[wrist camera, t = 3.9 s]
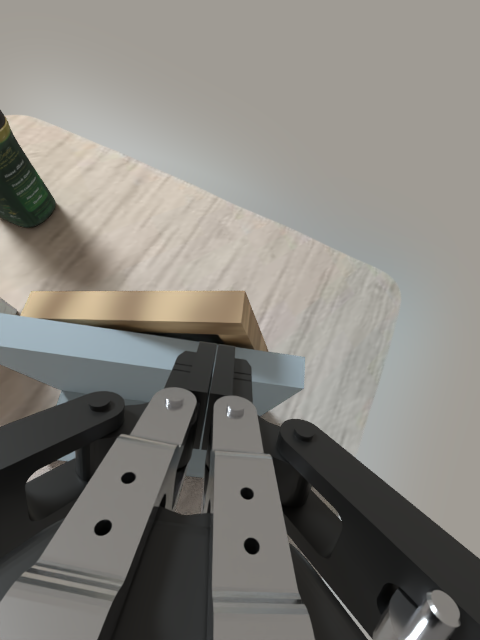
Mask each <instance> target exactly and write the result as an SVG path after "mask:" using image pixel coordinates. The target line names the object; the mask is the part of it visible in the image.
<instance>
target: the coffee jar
mask: <svg viewBox="0 0 480 640" xmlns="http://www.w3.org/2000/svg"><path fill="white" fill-rule="evenodd" d="M54 209H55V200H54V198H53V196H52V195H51V193H50V192H49V190H48V188H47V187H46V185H45V184H44V182H43V181H42V179H41V178H40V176H39V175H38V173H37V172H36V170H35V169H34V167H33V166H32V164H31V163H30V161H29V159H28V158H27V156H26V155H25V153H24V152H23V150H22V148H21V147H20V145H19V144H18V142H17V140H16V139H15V137H14V135H13V133H12V131H11V129H10V126H9V123H8V121H7V119H6V117H5V116H4V114H3V113H2V112H1V110H0V217H1V218H3V219H5V220H7V221H9V222H11V223H13V224H16V225H18V226H21V227H27V228H29V227H33V226H36V225H38V224H40V223H42V222H44V221H45V220H46V219H47V218H48V217H49V216H50V215H51V214H52V212H53V210H54Z"/></svg>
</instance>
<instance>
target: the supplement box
mask: <svg viewBox="0 0 480 640" xmlns="http://www.w3.org/2000/svg"><path fill="white" fill-rule="evenodd" d="M0 313H3V314H10V315H16V313H17V310H16V309H15V308H14V307H12V306H11V305H10V304H8V303H7V302H5V301H4V300H3V299H1V298H0Z"/></svg>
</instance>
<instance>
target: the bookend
mask: <svg viewBox="0 0 480 640" xmlns="http://www.w3.org/2000/svg"><path fill="white" fill-rule="evenodd" d="M198 346H199V342H197V341H190V340H183V339H176V338H169V337H162V336H156V335H149V334H142V333H135V332H128V331H121V330H114V329H107V328H100V327H93V326H86V325H79V324H72V323H66V322H59V321H52V320H45V319H38V318H31V317H24V316H17V315H10V314H3V313H0V365H3V366H5V367H7V368H10V369H12V370H14V371H17V372H19V373H21V374H24V375H26V376H28V377H31V378H33V379H36V380H38V381H40V382H43V383H45V384H47V385H50V386H52V387H54V388H57V389H59V390H62V391H61V394H60V397H59V400H58V403H57V405H59V404H62V403H65V402H67V401H70V400H73V399H75V398H78V397H81V396H83V395H86V394H89V393H92V392H97V391H109V392H114V393H117V394H119V395H120V396H121V397H122V398H123V399H124V402H125V405H138V404H144V403H148V402H150V401H151V399H152V397H153V396H154V394H155V393H156V392H158V391H160V390H162V389H164V387H165V385H166V382H167V380H168V378H169V375H170V373H171V371H172V368H173V366H174V364H175V361H176V359H177V356H178V355H180V354H181V353H183V352H184V351H191V352H197V349H198ZM217 350H218V344H217V348H216V355H217ZM216 355H215V361H216ZM235 358H238V359H245V360H247V361H248V363H249V364H250V366H251V368H252V395H253V405H254V406H255V408H256V410H257V414H258V415H259V416H262V415H263V414H265V413H266V412H268V411H269V410H271V409H273V408H274V407H276V406H277V405H279V404H280V403H282V402H284V401H285V400H287V399H288V398H290V397H291V396H293V395H295V394H296V393H298V392H299V391H301V390H302V389H304V371H305V357H301V356H294V355H287V354H280V353H273V352H266V351H259V350H252V349H245V348H239V347H235ZM215 361H214V366H215ZM213 372H214V368H213ZM212 377H213V375H212ZM211 383H212V381H211ZM210 388H211V387H210ZM209 394H210V393H209ZM208 401H209V399H208ZM57 405H56V406H57ZM207 407H208V404H207ZM206 414H207V410H206ZM205 421H206V415H205ZM205 421H204V426H203V431H202V437H201V442H200V448H199V449H193V451H192V456H191V459H190V461H189V463H188V469H187V473H186V476H192V477H200V478H203V472H204V465H205V459H206V452H207V450H201V448H202V441H203V434H204V427H205ZM74 458H75V451H74V452H72V453H70V454H68V455H66V456H64V457H62V458H60V459H58V460H62V461H70V460H72V459H74Z"/></svg>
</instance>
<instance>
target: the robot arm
mask: <svg viewBox="0 0 480 640" xmlns="http://www.w3.org/2000/svg"><path fill="white" fill-rule="evenodd" d="M216 348H217V344H216V343H209V342H203V341H200V342H199V346H198V349H197V352H191V351H184V352H183V353H181V354H180V355H178V356H177V359H176V361H175V364H174V366H173V368H172V371H171V373H170V375H169V378H168V380H167V382H166V385H165V387H164V389H162V390H160V391H158V392H156V393H155V394H154V396H153V397H152V399H151V401H150V402H148V403H144V404H138V405H125V402H124V399H123V398H122V397H121V396H120V395H119V394H117V393H114V392H109V391H97V392H92V393H89V394H86V395H83V396H81V397H78V398H75V399H73V400H70V401H67V402H65V403H62V404H59V405H57V406H54V407H52V408H49V409H46V410H44V411H41V412H38V413H36V414H33V415H30V416H28V417H25V418H22V419H20V420H17V421H15V422H12V423H9V424H7V425H4V426H1V427H0V640H368V639H367V638H366V637H365V635H364V634H363V633H362V631H361V630H360V629H359V627H358V626H357V625H356V623H355V622H354V621H353V620H352V618H351V617H350V616H349V614H348V613H347V612H346V610H345V609H344V608H343V606H342V605H341V604H340V602H339V601H338V600H337V599H336V597H335V596H334V595H333V593H332V592H331V591H330V589H329V588H328V587H327V586H326V584H325V583H324V581H323V580H322V579H321V577H320V576H319V575H318V573H317V572H316V571H315V570H314V568H313V567H312V566H311V564H312V565H313V566H314V567H315V569H316V570H317V571H318V572H319V574H320V575H321V576H322V577H323V579H324V580H325V581H326V582H327V583H328V585H329V586H330V587H331V588H332V590H333V591H334V592H335V593H336V595H337V596H338V597H339V598H340V600H341V601H342V602H343V603H344V604H345V606H346V607H347V608H348V609H349V611H350V612H351V613H352V614H353V616H354V617H355V618H356V619H357V620H358V622H359V623H360V624H361V625H362V627H363V628H364V629H365V630H366V632H367V633H368V634H369V635H370V637H371V638H372V639H373V640H480V559H479V558H478V557H476V556H475V555H474V554H473V553H472V552H470V551H469V550H468V549H467V548H465V547H464V546H463V545H462V544H460V543H459V542H458V541H457V540H456V539H454V538H453V537H452V536H451V535H449V534H448V533H447V532H446V531H444V530H443V529H442V528H441V527H440V526H438V525H437V524H436V523H435V522H433V521H432V520H431V519H430V518H429V517H427V516H426V515H425V514H424V513H422V512H421V511H420V510H419V509H417V508H416V507H415V506H413V504H411V503H410V502H409V501H408V500H406V499H405V498H404V497H403V496H401V495H400V494H399V493H398V492H397V491H395V490H394V489H393V488H392V487H390V486H389V485H388V484H386V483H385V482H384V481H383V480H382V479H381V478H379V477H378V476H377V475H376V474H374V473H373V472H372V471H371V470H370V469H368V468H367V467H366V466H364V465H363V464H362V463H361V462H360V461H358V460H357V459H356V458H355V457H354V456H352V455H351V454H350V453H349V452H347V451H346V450H345V449H344V448H342V447H341V446H340V445H339V444H338V443H336V442H335V441H334V440H333V439H331V438H330V437H329V436H328V435H327V434H325V433H324V432H323V431H322V430H320V429H319V428H318V427H317V426H315V425H314V424H312V423H310V422H308V421H305V420H301V419H290V420H287V421H285V422H284V423H282V425H281V427H279V426H277V425H274V424H272V423H269V422H267V421H265V420H264V419H262V418H261V417H260V416H259V415H258V414H257V410H256V408H255V406H254V405H253V395H252V368H251V366H250V364H249V363H248V361H247V360H245V359H238V358H235V346H229V345H223V344H218V350H217V355H216ZM215 355H216V361H215ZM214 361H215V366H214ZM213 368H214V372H213ZM212 375H213V377H212ZM211 381H212V383H211ZM210 387H211V388H210ZM209 393H210V394H209ZM208 399H209V401H208ZM207 404H208V407H207ZM206 410H207V414H206ZM205 415H206V421H205ZM204 421H205V427H204V434H203V441H202V448H201V450H207V452H206V459H205V465H204V472H203V489H202V505H201V514H194V515H181V514H178V513H176V512H175V509H176V505H177V502H178V499H179V495H180V492H181V489H182V486H183V482H184V479H185V476H186V473H187V469H188V463H189V461H190V459H191V456H192V451H193V449H199V448H200V442H201V437H202V431H203V426H204ZM74 451H75V458H74V459H72V460H70V461H68V462H66V463H64V464H62V465H60V466H58V467H56V468H54V469H52V470H51V471H49V472H47V473H45V474H43V475H41V476H39V477H37V478H35V479H33V480H31V481H29V482H27V480H28V479H29V477H30V476H31V475H32V474H33V473H34V472H36V471H37V470H38V469H40V468H42V467H44V466H46V465H48V464H50V463H52V462H54V461H56V460H58V459H60V458H62V457H64V456H66V455H68V454H70V453H72V452H74ZM26 482H27V483H26ZM312 486H313V487H314V488H315V489H316V490H317V491H318V492H319V493H320V494H321V495H322V496H323V497H324V498H325V499H326V500H327V501H328V502H329V503H330V504H331V505H332V506H333V507H334V508H335V509H336V510H337V512H338V513H339V515H340V517H341V520H342V521H341V520H340V519H339V518H338V517H337V516H336V515H335V514H334V513H333V512H332V511H331V510H330V509H329V508H328V507H327V506H326V505H325V504H324V503H323V502H322V501H321V500H320V499H319V498H318V497H317V496H316V495H315V494H314V493H313V492H312V491H311V487H312ZM287 534H288V535H289V536H290V538H291V539H292V540H293V541H294V543H295V544H296V545H297V546H298V548H299V549H300V550H301V551H302V553H303V554H304V555H305V556H306V557H307V559H308V560H309V561H310V562H311V564H310V563H309V562H308V561H307V559H306V558H305V557H304V556H303V555H302V554H301V553H300V552H299V551H298V550H297V549H296V548H295V547H293V546H292V545H291V544H290V543H289V542H288V537H287Z"/></svg>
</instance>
